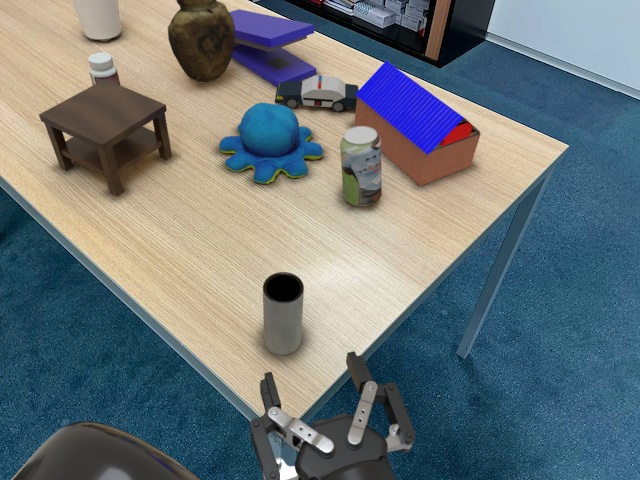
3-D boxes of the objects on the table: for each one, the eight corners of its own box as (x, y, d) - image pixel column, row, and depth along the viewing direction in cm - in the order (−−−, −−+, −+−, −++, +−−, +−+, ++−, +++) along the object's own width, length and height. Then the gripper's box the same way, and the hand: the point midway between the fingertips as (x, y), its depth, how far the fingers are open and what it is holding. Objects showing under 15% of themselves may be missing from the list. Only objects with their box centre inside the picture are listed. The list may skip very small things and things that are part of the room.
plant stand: (116, 198, 83) (102, 144, 76) (57, 168, 88) (38, 114, 80) (174, 156, 91) (166, 104, 84) (117, 130, 96) (105, 78, 89)
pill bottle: (129, 97, 103) (119, 56, 97) (109, 108, 100) (99, 66, 94) (111, 89, 105) (101, 48, 99) (91, 100, 102) (79, 58, 96)
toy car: (277, 94, 107) (277, 70, 104) (358, 99, 107) (361, 76, 104) (274, 107, 104) (274, 84, 100) (358, 113, 104) (361, 90, 100)
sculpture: (227, 63, 114) (220, -38, 100) (246, 82, 110) (241, -22, 95) (166, 78, 109) (150, -27, 95) (183, 98, 104) (169, -9, 90)
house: (402, 110, 106) (412, 53, 97) (473, 166, 94) (492, 107, 86) (351, 126, 101) (358, 68, 92) (419, 187, 89) (434, 127, 81)
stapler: (277, 89, 108) (277, 42, 101) (197, 37, 122) (192, -8, 115) (319, 72, 114) (322, 26, 107) (239, 24, 128) (236, -19, 121)
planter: (285, 318, 69) (287, 265, 62) (308, 342, 67) (312, 289, 60) (256, 337, 67) (254, 283, 60) (279, 362, 65) (279, 310, 58)
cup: (70, 35, 119) (53, -26, 110) (107, 21, 125) (94, -38, 116) (99, 50, 115) (84, -12, 106) (136, 35, 121) (125, -25, 112)
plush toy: (210, 132, 97) (206, 91, 91) (300, 117, 102) (301, 77, 96) (235, 191, 86) (232, 148, 80) (334, 171, 91) (338, 129, 85)
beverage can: (374, 215, 84) (385, 152, 75) (329, 203, 85) (335, 140, 77) (384, 191, 88) (396, 128, 80) (341, 180, 90) (348, 117, 81)
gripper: (458, 492, 43) (380, 327, 53) (283, 552, 39) (236, 362, 50) (438, 524, 48) (370, 368, 59) (282, 578, 44) (240, 402, 55)
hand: (309, 366), depth 54 cm, fingers open, 8 cm apart
